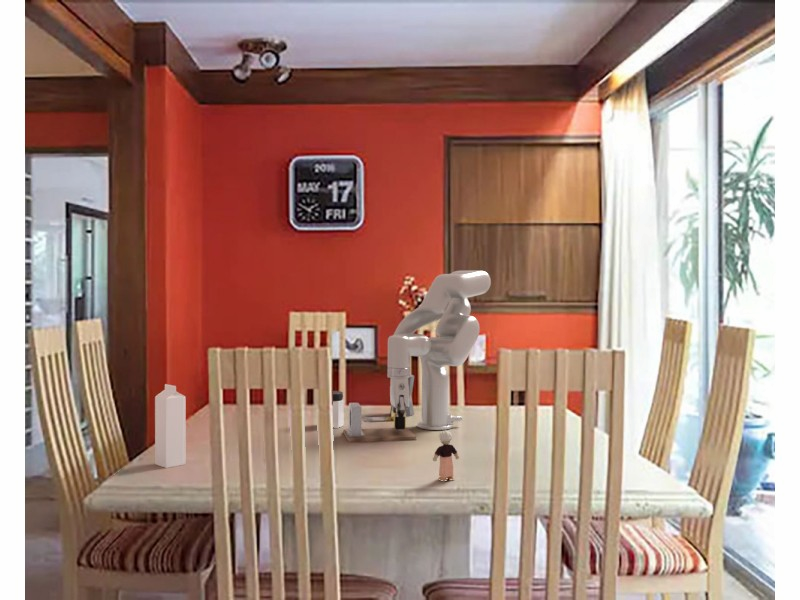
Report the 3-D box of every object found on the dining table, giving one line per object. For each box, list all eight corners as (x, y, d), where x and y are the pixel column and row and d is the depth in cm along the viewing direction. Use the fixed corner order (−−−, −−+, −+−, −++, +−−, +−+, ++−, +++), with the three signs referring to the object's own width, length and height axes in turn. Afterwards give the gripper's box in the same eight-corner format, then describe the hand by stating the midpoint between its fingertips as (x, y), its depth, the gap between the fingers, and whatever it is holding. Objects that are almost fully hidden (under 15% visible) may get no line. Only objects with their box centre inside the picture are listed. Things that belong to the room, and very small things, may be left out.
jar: (347, 426, 256) (348, 392, 256) (328, 429, 251) (328, 394, 251) (333, 423, 263) (333, 389, 263) (314, 425, 258) (314, 391, 258)
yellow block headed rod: (402, 424, 245) (403, 410, 245) (405, 427, 240) (405, 412, 240) (362, 425, 242) (362, 411, 242) (364, 428, 238) (364, 413, 238)
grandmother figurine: (450, 476, 192) (450, 427, 191) (460, 479, 189) (461, 430, 189) (428, 481, 187) (429, 431, 186) (439, 484, 184) (439, 434, 184)
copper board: (407, 430, 251) (407, 427, 251) (416, 439, 236) (416, 436, 236) (343, 432, 246) (343, 429, 246) (348, 442, 232) (348, 438, 232)
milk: (174, 460, 206) (175, 382, 206) (185, 464, 202) (186, 385, 201) (154, 464, 201) (154, 384, 201) (165, 468, 197) (166, 386, 197)
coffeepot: (390, 411, 288) (391, 365, 288) (414, 411, 288) (415, 366, 287) (388, 418, 273) (388, 370, 272) (413, 418, 272) (414, 370, 272)
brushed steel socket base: (360, 430, 245) (360, 402, 245) (364, 436, 235) (364, 407, 235) (345, 431, 244) (345, 402, 244) (349, 437, 234) (349, 407, 234)
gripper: (415, 375, 234) (414, 432, 235) (404, 369, 251) (404, 422, 251) (392, 376, 233) (391, 433, 233) (383, 369, 250) (383, 422, 250)
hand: (398, 426), depth 242 cm, fingers closed on yellow block headed rod, 4 cm apart
